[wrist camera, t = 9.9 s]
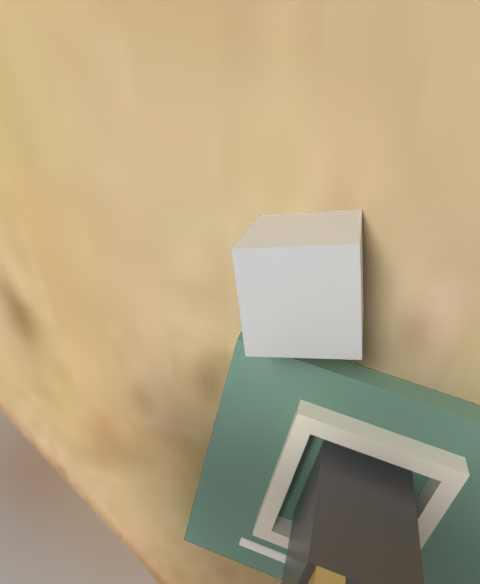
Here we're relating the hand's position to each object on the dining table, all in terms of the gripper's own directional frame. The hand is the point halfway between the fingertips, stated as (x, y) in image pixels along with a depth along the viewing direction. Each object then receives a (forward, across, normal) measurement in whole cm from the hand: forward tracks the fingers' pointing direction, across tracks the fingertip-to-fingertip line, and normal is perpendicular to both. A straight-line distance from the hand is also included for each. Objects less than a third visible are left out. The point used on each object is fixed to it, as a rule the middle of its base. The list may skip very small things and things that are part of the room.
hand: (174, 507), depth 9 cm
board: (+12, -7, +10) cm, 17 cm away
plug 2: (+11, -6, +9) cm, 15 cm away
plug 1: (+12, -1, -1) cm, 12 cm away
